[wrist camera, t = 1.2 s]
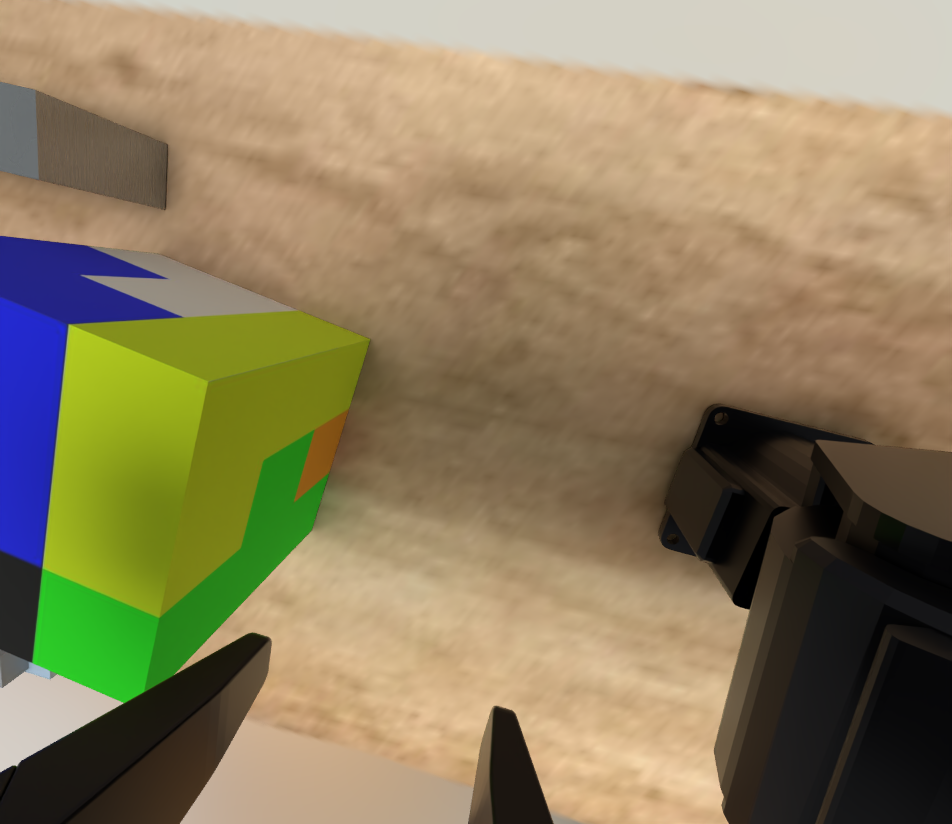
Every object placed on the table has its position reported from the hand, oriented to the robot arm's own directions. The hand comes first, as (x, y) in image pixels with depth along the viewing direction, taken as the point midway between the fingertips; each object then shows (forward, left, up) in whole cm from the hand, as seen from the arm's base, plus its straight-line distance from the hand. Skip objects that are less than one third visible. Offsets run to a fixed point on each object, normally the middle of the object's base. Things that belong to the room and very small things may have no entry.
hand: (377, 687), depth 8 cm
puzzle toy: (+11, 0, -12) cm, 17 cm away
